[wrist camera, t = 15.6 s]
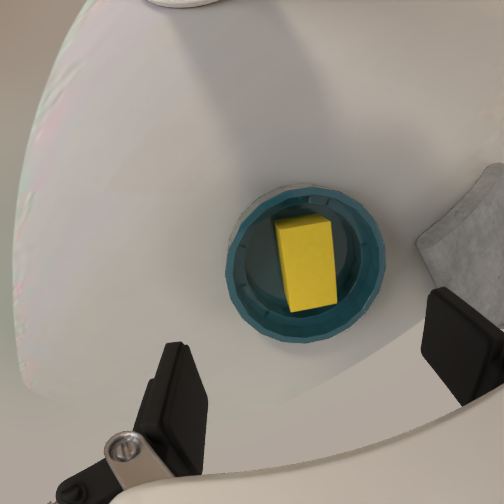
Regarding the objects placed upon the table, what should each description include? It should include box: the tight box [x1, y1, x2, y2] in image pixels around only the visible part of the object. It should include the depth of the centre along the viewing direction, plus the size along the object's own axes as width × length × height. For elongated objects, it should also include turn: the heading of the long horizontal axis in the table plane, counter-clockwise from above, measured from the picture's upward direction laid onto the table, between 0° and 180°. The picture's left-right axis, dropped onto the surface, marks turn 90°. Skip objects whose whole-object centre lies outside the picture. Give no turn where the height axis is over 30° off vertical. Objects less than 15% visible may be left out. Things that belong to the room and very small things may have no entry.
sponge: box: [274, 213, 337, 312], centre depth 25 cm, size 7×4×4 cm, turn 10°
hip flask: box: [416, 163, 504, 329], centre depth 27 cm, size 16×4×20 cm
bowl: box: [225, 184, 385, 343], centre depth 25 cm, size 13×13×4 cm
